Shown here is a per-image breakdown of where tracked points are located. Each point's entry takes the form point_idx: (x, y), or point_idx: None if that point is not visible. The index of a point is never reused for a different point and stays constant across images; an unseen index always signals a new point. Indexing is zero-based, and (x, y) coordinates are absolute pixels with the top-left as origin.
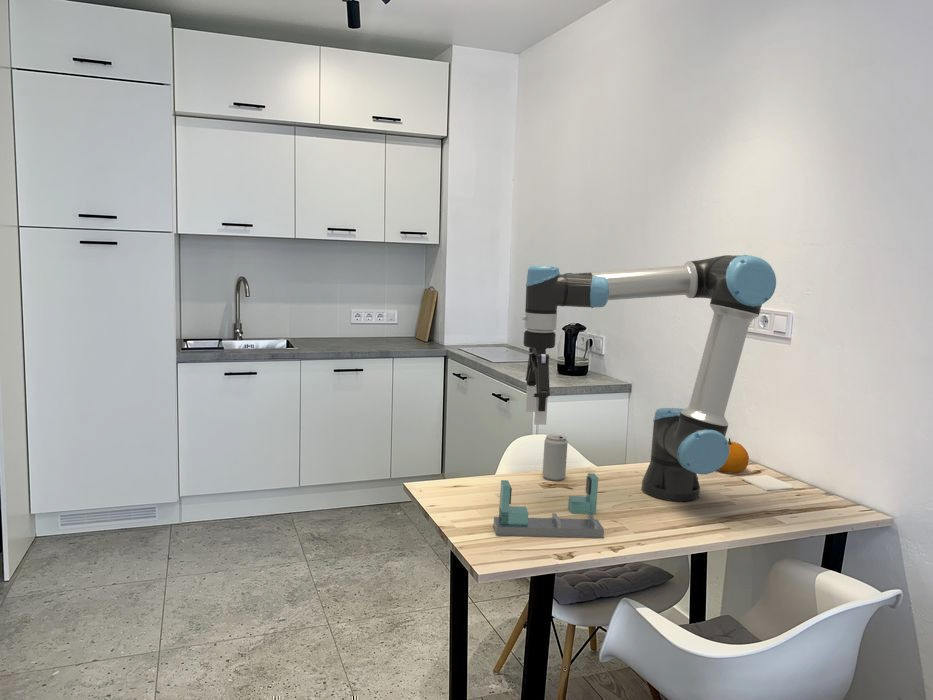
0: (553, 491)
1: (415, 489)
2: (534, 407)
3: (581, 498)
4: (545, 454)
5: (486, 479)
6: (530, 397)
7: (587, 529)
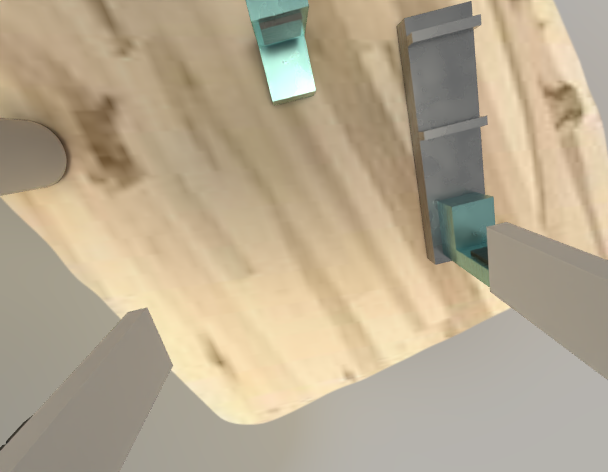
0: (159, 149)
1: (269, 419)
2: (140, 340)
3: (281, 62)
4: (2, 191)
5: None
6: (115, 430)
7: (473, 48)
